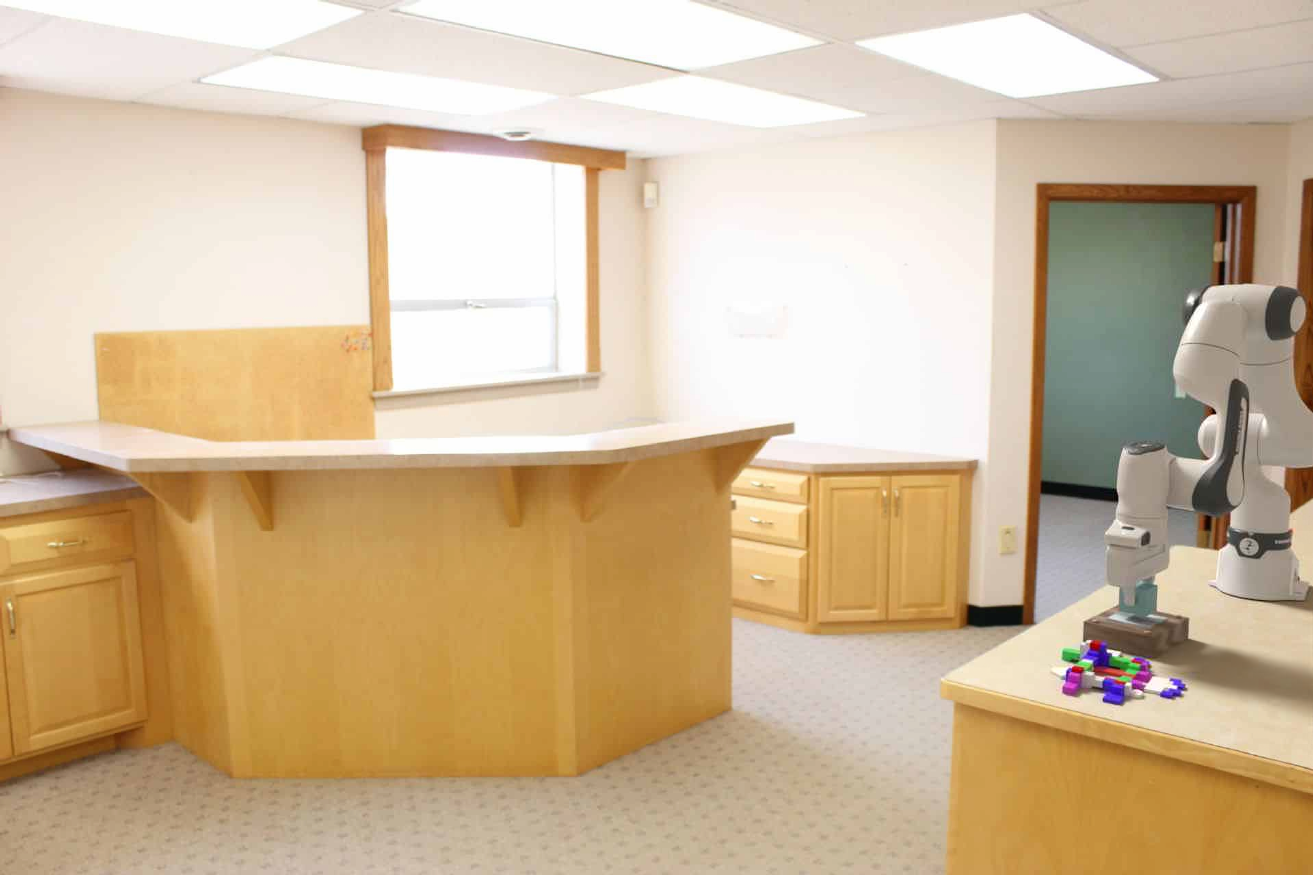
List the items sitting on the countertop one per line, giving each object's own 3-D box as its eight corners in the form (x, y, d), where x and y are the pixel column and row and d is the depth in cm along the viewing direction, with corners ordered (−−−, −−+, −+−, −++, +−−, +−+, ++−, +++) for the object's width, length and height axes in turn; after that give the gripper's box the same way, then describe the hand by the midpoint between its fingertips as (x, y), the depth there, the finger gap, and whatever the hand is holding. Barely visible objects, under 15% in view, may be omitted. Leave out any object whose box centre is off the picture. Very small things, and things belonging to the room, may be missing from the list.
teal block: (1129, 605, 201) (1130, 580, 200) (1156, 610, 197) (1157, 585, 197) (1118, 611, 198) (1119, 585, 197) (1145, 616, 194) (1146, 590, 193)
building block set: (1167, 718, 163) (1168, 690, 162) (1033, 690, 175) (1034, 664, 175) (1197, 671, 183) (1198, 646, 182) (1074, 649, 195) (1075, 626, 195)
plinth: (1119, 623, 208) (1120, 602, 208) (1188, 637, 199) (1189, 615, 198) (1082, 642, 197) (1083, 619, 197) (1153, 658, 188) (1154, 635, 187)
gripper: (1146, 518, 205) (1143, 586, 207) (1100, 535, 191) (1097, 609, 193) (1180, 522, 200) (1176, 593, 202) (1135, 540, 186) (1132, 616, 188)
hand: (1137, 601), depth 197 cm, fingers closed on teal block, 5 cm apart
